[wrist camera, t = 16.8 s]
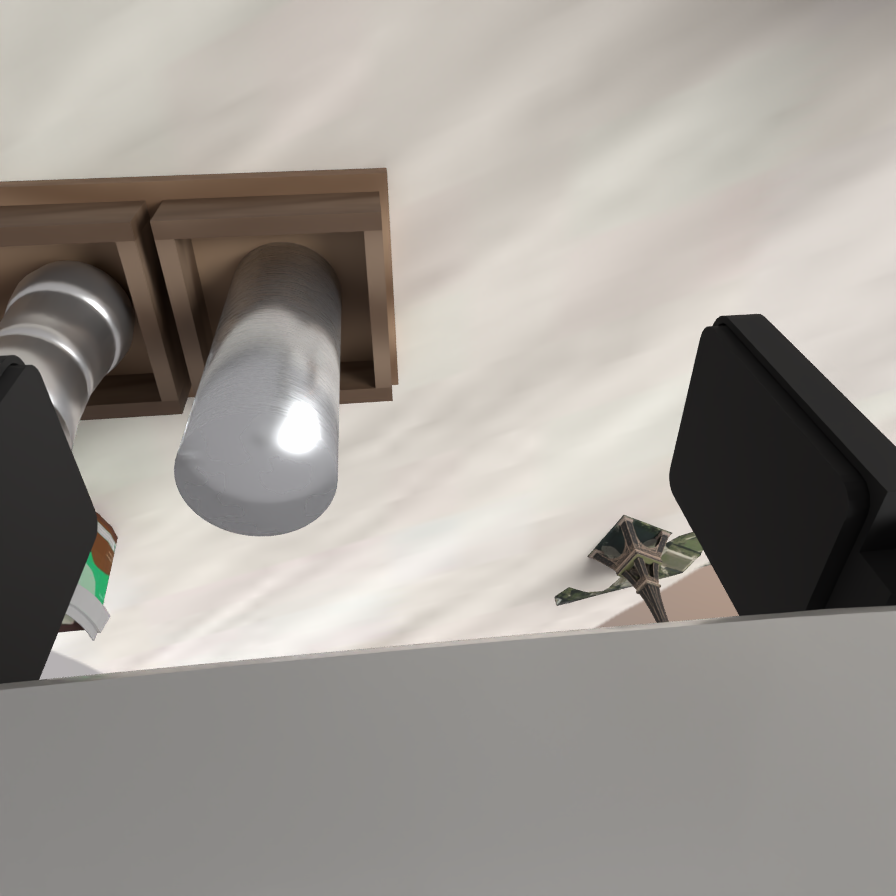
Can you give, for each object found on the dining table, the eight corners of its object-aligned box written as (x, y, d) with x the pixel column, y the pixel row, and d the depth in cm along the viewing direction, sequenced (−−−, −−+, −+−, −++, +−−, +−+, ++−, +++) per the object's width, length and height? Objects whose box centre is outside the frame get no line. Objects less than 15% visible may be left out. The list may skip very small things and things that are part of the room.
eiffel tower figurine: (553, 602, 67) (591, 734, 56) (531, 527, 61) (569, 659, 50) (713, 560, 66) (782, 686, 55) (707, 479, 60) (784, 603, 49)
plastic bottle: (30, 340, 44) (-148, 582, 29) (23, 236, 41) (-187, 448, 25) (142, 359, 46) (32, 599, 30) (145, 260, 42) (21, 474, 26)
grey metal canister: (222, 244, 42) (156, 418, 28) (336, 239, 43) (328, 407, 28) (242, 344, 46) (193, 541, 32) (346, 338, 47) (344, 530, 32)
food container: (113, 474, 52) (71, 576, 44) (137, 536, 56) (102, 640, 48) (-65, 489, 51) (-141, 595, 43) (-29, 551, 55) (-92, 659, 47)
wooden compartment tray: (-92, 185, 39) (-136, 212, 36) (386, 167, 42) (389, 192, 38) (4, 400, 48) (-24, 440, 44) (397, 376, 50) (401, 413, 46)
